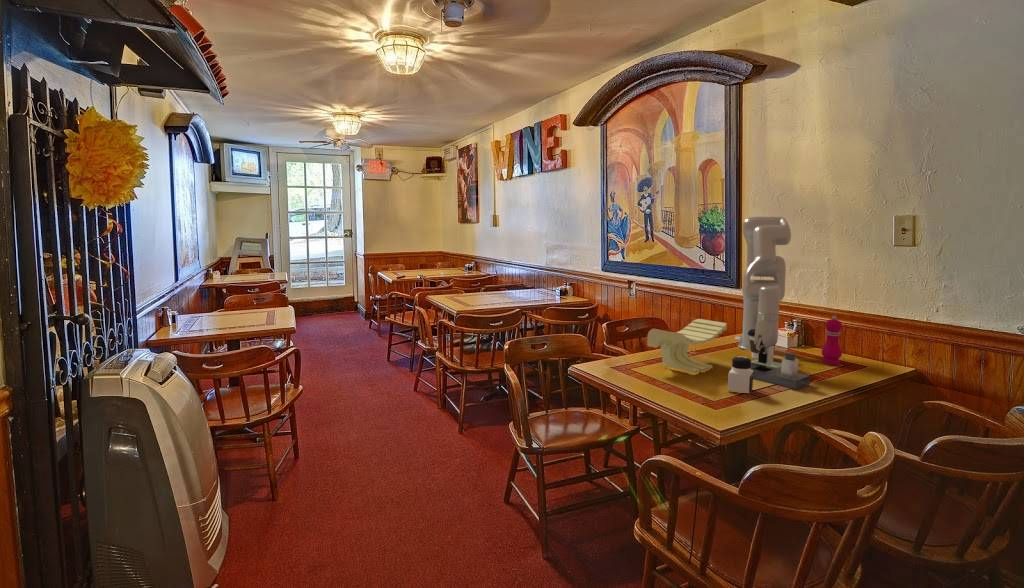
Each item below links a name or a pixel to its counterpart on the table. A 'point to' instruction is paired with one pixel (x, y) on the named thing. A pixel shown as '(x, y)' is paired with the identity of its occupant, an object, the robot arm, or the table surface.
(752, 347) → the coffee cup
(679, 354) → the slatted curved stool
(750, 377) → the medicine bottle
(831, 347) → the pepper mill
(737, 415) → the table surface
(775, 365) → the tray
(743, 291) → the robot arm
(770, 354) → the plug
